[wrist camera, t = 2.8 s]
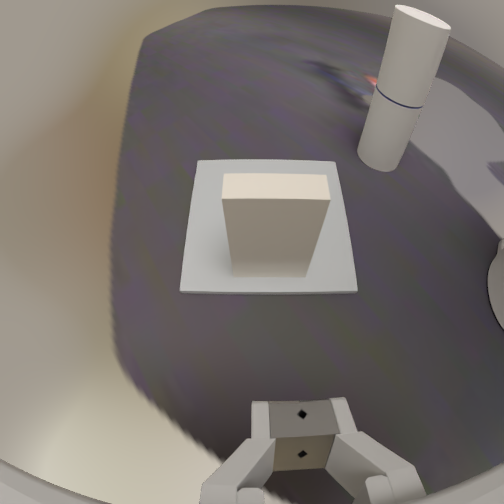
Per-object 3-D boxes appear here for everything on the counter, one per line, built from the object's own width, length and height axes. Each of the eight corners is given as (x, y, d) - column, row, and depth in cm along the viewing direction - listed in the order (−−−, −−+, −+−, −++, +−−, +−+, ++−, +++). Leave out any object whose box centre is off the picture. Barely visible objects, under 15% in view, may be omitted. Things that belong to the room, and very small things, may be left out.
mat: (334, 165, 44) (335, 161, 43) (355, 293, 34) (357, 290, 34) (198, 164, 44) (198, 160, 43) (181, 293, 35) (179, 290, 34)
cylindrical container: (348, 148, 46) (383, 3, 24) (376, 136, 47) (414, 6, 25) (379, 177, 43) (434, 28, 21) (406, 162, 45) (459, 30, 23)
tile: (303, 255, 36) (325, 172, 24) (305, 277, 35) (330, 199, 22) (234, 254, 36) (224, 170, 24) (233, 277, 35) (221, 198, 22)
